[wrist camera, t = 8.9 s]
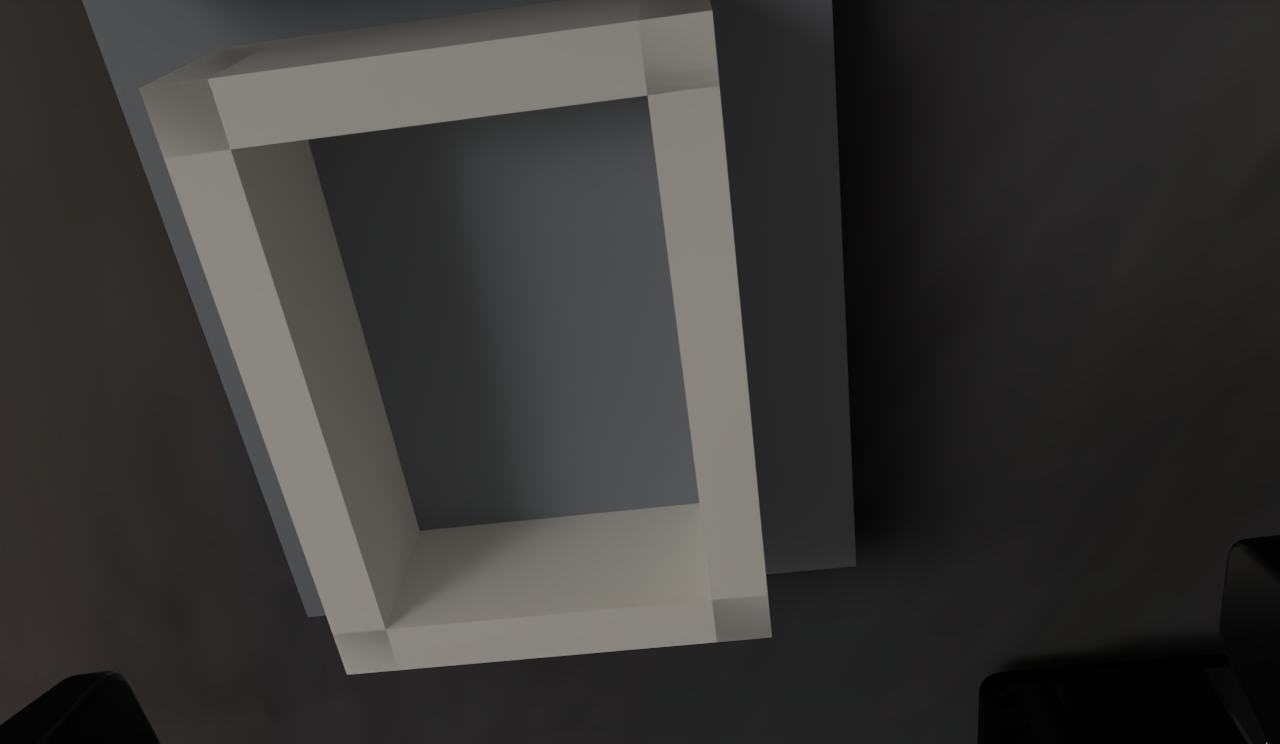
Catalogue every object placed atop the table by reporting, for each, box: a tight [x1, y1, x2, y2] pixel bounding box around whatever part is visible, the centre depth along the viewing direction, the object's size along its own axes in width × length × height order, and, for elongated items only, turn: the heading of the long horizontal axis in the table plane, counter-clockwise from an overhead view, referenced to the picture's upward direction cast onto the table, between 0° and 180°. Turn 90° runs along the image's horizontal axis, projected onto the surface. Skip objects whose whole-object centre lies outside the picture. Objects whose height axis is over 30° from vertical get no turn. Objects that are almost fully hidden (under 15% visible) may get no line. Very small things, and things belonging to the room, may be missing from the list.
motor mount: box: [82, 0, 856, 675], centre depth 15 cm, size 20×12×7 cm, turn 8°
